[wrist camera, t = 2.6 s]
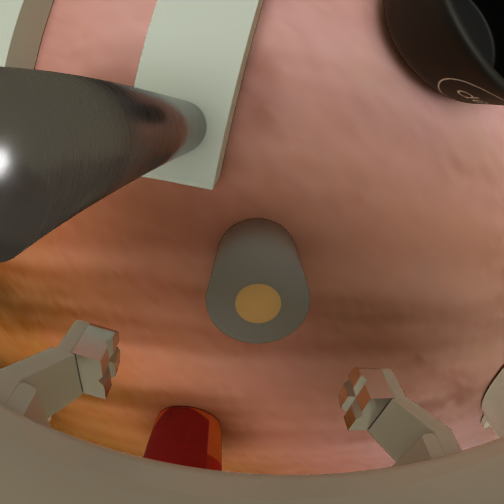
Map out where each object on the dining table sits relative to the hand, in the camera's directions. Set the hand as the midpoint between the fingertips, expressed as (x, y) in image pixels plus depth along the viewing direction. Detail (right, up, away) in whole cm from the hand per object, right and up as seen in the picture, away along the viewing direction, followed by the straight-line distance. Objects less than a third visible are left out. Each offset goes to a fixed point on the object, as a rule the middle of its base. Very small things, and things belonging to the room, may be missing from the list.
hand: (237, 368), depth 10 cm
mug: (+12, +18, +2) cm, 22 cm away
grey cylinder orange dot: (+1, +4, +8) cm, 9 cm away
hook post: (-6, +11, +5) cm, 13 cm away
